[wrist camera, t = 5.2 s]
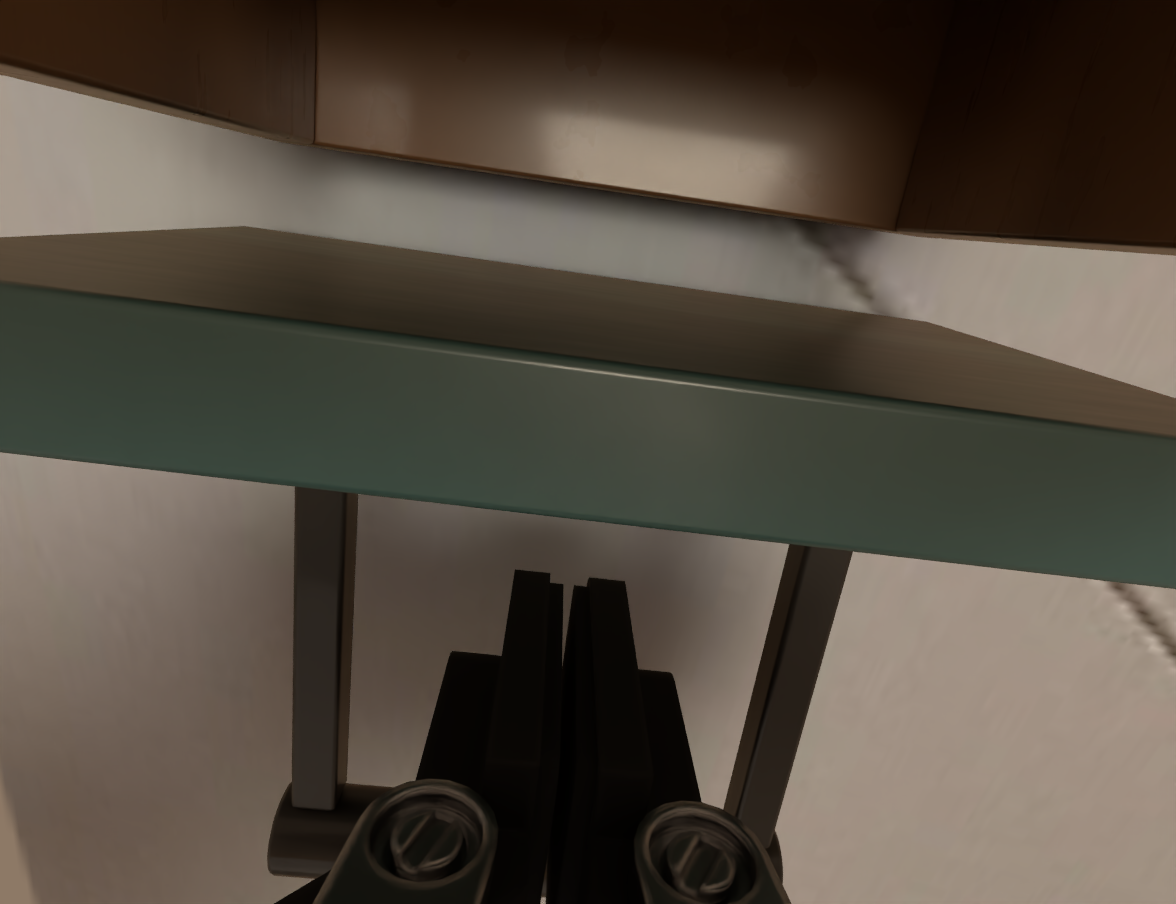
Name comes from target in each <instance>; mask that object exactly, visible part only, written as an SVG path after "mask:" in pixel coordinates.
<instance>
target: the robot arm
mask: <svg viewBox="0 0 1176 904" xmlns="http://www.w3.org/2000/svg"><path fill="white" fill-rule="evenodd" d="M562 635H563V584H557V583H550V573H543V572H534V571H524V570H515V573H514V579H513V586H512V592H511V599H510V605H509V612H508V618H507V625H506V631H505V638H504V644H503V651H502V656H499V655H488V654H478V653H468V652H458V651H452V652H451V653H450V656H449V659H448V663H447V666H446V670H445V674H444V677H443V681H442V685H441V688H440V692H439V696H438V699H437V703H436V707H435V710H434V714H433V718H432V722H431V725H430V729H429V733H428V736H427V740H426V744H425V747H424V751H423V755H422V758H421V762H420V766H419V769H418V773H417V777H416V780H415V781H410V782H406V783H404V784H401V785H399V786H396V787H394V788H391V789H389V790H387V791H386V792H385V793H383V794H382V795H380V796H379V797H378V798H376V799H375V800H374V801H372V802H371V803H370V805H369V806H368V807H367V809H366V810H365V811H364V812H363V814H362V815H361V816H360V818H359V819H358V821H357V823H356V825H355V827H354V829H353V830H352V832H351V834H350V836H349V838H348V840H347V841H346V843H345V845H344V847H343V849H342V851H341V852H340V854H339V856H338V858H337V860H336V862H335V863H334V865H333V867H332V869H331V870H330V871H328V872H326V873H325V874H323V875H321V876H320V877H318V878H316V879H315V880H313V881H311V882H310V883H308V884H306V885H305V886H303V887H301V888H300V889H298V890H296V891H294V892H293V893H291V894H289V895H288V896H286V897H284V898H283V899H281V900H279V901H278V902H276V903H274V904H540V901H541V894H542V887H543V881H544V874H545V867H546V860H547V882H546V904H791V902H790V900H789V898H788V896H787V893H786V891H785V889H784V887H783V885H782V883H781V881H780V879H779V876H778V874H777V872H776V870H775V868H774V866H773V864H772V862H771V860H770V857H769V855H768V853H767V851H766V850H765V848H764V847H763V845H762V844H761V842H760V841H759V839H758V837H757V836H756V834H755V833H753V832H752V831H751V830H750V829H749V828H748V827H747V826H746V825H745V824H744V823H743V822H742V821H741V820H739V819H738V818H736V817H734V816H733V815H731V814H729V813H728V812H726V811H724V810H723V809H720V808H717V807H714V806H711V805H708V804H705V803H702V802H701V797H700V793H699V788H698V784H697V779H696V775H695V770H694V766H693V761H692V757H691V752H690V748H689V743H688V739H687V734H686V730H685V725H684V721H683V716H682V712H681V707H680V703H679V698H678V694H677V689H676V685H675V681H674V678H673V675H672V674H671V673H670V672H661V671H651V670H641V669H638V665H637V659H636V652H635V645H634V638H633V632H632V625H631V618H630V611H629V604H628V598H627V591H626V584H625V581H618V580H609V579H599V578H590V577H589V579H588V583H587V587H585V586H576V585H574V589H573V594H572V601H571V608H570V616H569V623H568V630H567V637H566V644H565V651H564V658H563V665H562Z"/></svg>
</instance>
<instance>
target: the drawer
mask: <svg viewBox="0 0 1176 904" xmlns="http://www.w3.org/2000/svg"><path fill="white" fill-rule="evenodd" d="M0 75H5V76H9V77H13V78H17V79H21V80H25V81H29V82H34V83H38V84H42V85H46V86H50V87H54V88H58V89H63V90H67V91H71V92H75V93H79V94H83V95H88V96H92V97H96V98H100V99H104V100H108V101H112V102H117V103H121V104H125V105H129V106H133V107H137V108H141V109H146V110H150V111H154V112H158V113H162V114H166V115H170V116H175V117H179V118H183V119H187V120H191V121H195V122H199V123H204V124H208V125H212V126H216V127H220V128H224V129H228V130H233V131H237V132H241V133H245V134H249V135H253V136H258V137H262V138H265V139H270V140H274V141H278V142H282V143H289V144H296V145H303V146H309V147H316V148H323V149H330V150H336V151H343V152H350V153H357V154H363V155H370V156H377V157H383V158H390V159H397V160H404V161H410V162H417V163H424V164H431V165H437V166H444V167H451V168H458V169H464V170H471V171H478V172H485V173H491V174H498V175H505V176H511V177H518V178H525V179H532V180H538V181H545V182H552V183H559V184H565V185H572V186H579V187H586V188H592V189H599V190H606V191H613V192H619V193H626V194H633V195H639V196H646V197H653V198H660V199H666V200H673V201H680V202H687V203H693V204H700V205H707V206H714V207H720V208H727V209H734V210H741V211H747V212H754V213H761V214H767V215H774V216H781V217H788V218H794V219H801V220H808V221H815V222H821V223H828V224H835V225H842V226H848V227H855V228H862V229H868V230H875V231H882V232H889V233H895V234H902V235H909V236H916V237H927V238H942V239H954V240H968V241H982V242H996V243H1009V244H1023V245H1037V246H1051V247H1064V248H1078V249H1092V250H1106V251H1119V252H1133V253H1147V254H1161V255H1174V256H1176V0H0ZM0 452H3V453H12V454H20V455H29V456H37V457H46V458H55V459H63V460H72V461H80V462H89V463H98V464H106V465H115V466H123V467H132V468H141V469H149V470H158V471H166V472H175V473H184V474H192V475H201V476H209V477H218V478H227V479H235V480H244V481H252V482H261V483H269V484H278V485H287V486H295V531H294V625H293V719H292V782H291V783H290V784H289V785H288V787H287V788H286V790H285V792H284V794H283V796H282V798H281V800H280V803H279V805H278V808H277V811H276V814H275V817H274V821H273V825H272V829H271V833H270V838H269V844H268V855H267V861H268V870H269V872H270V873H271V874H273V875H274V876H286V877H298V878H311V879H316V878H318V877H320V876H321V875H323V874H325V873H326V872H328V871H330V870H331V869H332V867H333V865H334V863H335V862H336V860H337V858H338V856H339V854H340V852H341V851H342V849H343V847H344V845H345V843H346V841H347V840H348V838H349V836H350V834H351V832H352V830H353V829H354V827H355V825H356V823H357V821H358V819H359V818H360V816H361V815H362V814H363V812H364V811H365V810H366V809H367V807H368V806H369V805H370V803H371V802H372V801H374V800H375V799H376V798H378V797H379V796H380V795H382V794H383V793H385V792H386V791H387V790H389V789H391V788H394V787H383V786H372V785H361V784H349V783H346V781H347V763H348V738H349V713H350V689H351V664H352V639H353V615H354V590H355V565H356V541H357V516H358V494H364V495H373V496H381V497H390V498H398V499H407V500H416V501H424V502H433V503H441V504H450V505H459V506H467V507H476V508H484V509H493V510H501V511H510V512H519V513H527V514H536V515H544V516H553V517H562V518H570V519H579V520H587V521H596V522H605V523H613V524H622V525H630V526H639V527H648V528H656V529H665V530H673V531H682V532H691V533H699V534H708V535H716V536H725V537H733V538H742V539H751V540H759V541H768V542H776V543H785V544H789V548H788V552H787V556H786V560H785V564H784V568H783V572H782V576H781V580H780V584H779V588H778V592H777V596H776V600H775V604H774V608H773V612H772V616H771V620H770V624H769V628H768V632H767V636H766V640H765V644H764V648H763V652H762V656H761V660H760V664H759V668H758V672H757V676H756V680H755V684H754V688H753V692H752V696H751V700H750V704H749V708H748V712H747V716H746V720H745V724H744V728H743V732H742V736H741V740H740V744H739V748H738V752H737V756H736V760H735V764H734V768H733V772H732V776H731V780H730V784H729V788H728V792H727V796H726V800H725V804H724V808H723V810H724V811H726V812H728V813H729V814H731V815H733V816H734V817H736V818H738V819H739V820H741V821H742V822H743V823H744V824H745V825H746V826H747V827H748V828H749V829H750V830H751V831H752V832H753V833H755V834H756V836H757V837H758V839H759V841H760V842H761V844H762V845H763V847H764V848H765V850H766V851H767V853H768V855H769V857H770V860H771V862H772V864H773V866H774V868H775V870H776V872H777V874H778V876H779V879H780V881H781V883H783V866H782V856H781V850H780V845H779V841H778V837H777V834H776V832H775V826H776V823H777V819H778V816H779V812H780V809H781V805H782V801H783V798H784V794H785V791H786V787H787V784H788V780H789V777H790V773H791V769H792V766H793V762H794V759H795V755H796V752H797V748H798V745H799V741H800V737H801V734H802V730H803V727H804V723H805V720H806V716H807V713H808V709H809V705H810V702H811V698H812V695H813V691H814V688H815V684H816V681H817V677H818V673H819V670H820V666H821V663H822V659H823V656H824V652H825V649H826V645H827V641H828V638H829V634H830V631H831V627H832V624H833V620H834V617H835V613H836V609H837V606H838V602H839V599H840V595H841V592H842V588H843V585H844V581H845V577H846V574H847V570H848V567H849V563H850V560H851V556H852V553H853V551H854V552H862V553H871V554H880V555H888V556H897V557H905V558H914V559H923V560H931V561H940V562H948V563H957V564H966V565H974V566H983V567H991V568H1000V569H1008V570H1017V571H1026V572H1034V573H1043V574H1051V575H1060V576H1069V577H1077V578H1086V579H1094V580H1103V581H1112V582H1120V583H1129V584H1137V585H1146V586H1155V587H1163V588H1172V589H1176V398H1173V397H1169V396H1166V395H1163V394H1160V393H1156V392H1153V391H1150V390H1147V389H1143V388H1140V387H1137V386H1134V385H1130V384H1127V383H1124V382H1121V381H1117V380H1114V379H1111V378H1108V377H1104V376H1101V375H1098V374H1095V373H1091V372H1088V371H1085V370H1082V369H1079V368H1075V367H1072V366H1069V365H1066V364H1062V363H1059V362H1056V361H1053V360H1049V359H1046V358H1043V357H1040V356H1036V355H1033V354H1030V353H1027V352H1023V351H1020V350H1017V349H1014V348H1010V347H1007V346H1004V345H1001V344H997V343H994V342H991V341H988V340H984V339H981V338H978V337H975V336H971V335H968V334H965V333H962V332H958V331H955V330H952V329H949V328H945V327H942V326H939V325H936V324H932V323H929V322H924V321H917V320H910V319H903V318H895V317H888V316H881V315H874V314H867V313H860V312H853V311H846V310H838V309H831V308H824V307H817V306H810V305H803V304H796V303H788V302H781V301H774V300H767V299H760V298H753V297H746V296H738V295H731V294H724V293H717V292H710V291H703V290H696V289H688V288H681V287H674V286H667V285H660V284H653V283H646V282H639V281H631V280H624V279H617V278H610V277H603V276H596V275H589V274H581V273H574V272H567V271H560V270H553V269H546V268H539V267H531V266H524V265H517V264H510V263H503V262H496V261H489V260H481V259H474V258H467V257H460V256H453V255H446V254H439V253H432V252H424V251H417V250H410V249H403V248H396V247H389V246H382V245H374V244H367V243H360V242H353V241H346V240H339V239H332V238H324V237H317V236H310V235H303V234H296V233H289V232H282V231H275V230H267V229H260V228H253V227H246V226H239V227H217V228H195V229H173V230H152V231H130V232H108V233H86V234H65V235H43V236H21V237H0ZM546 882H547V860H546V867H545V874H544V881H543V887H542V894H541V897H546Z"/></svg>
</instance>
